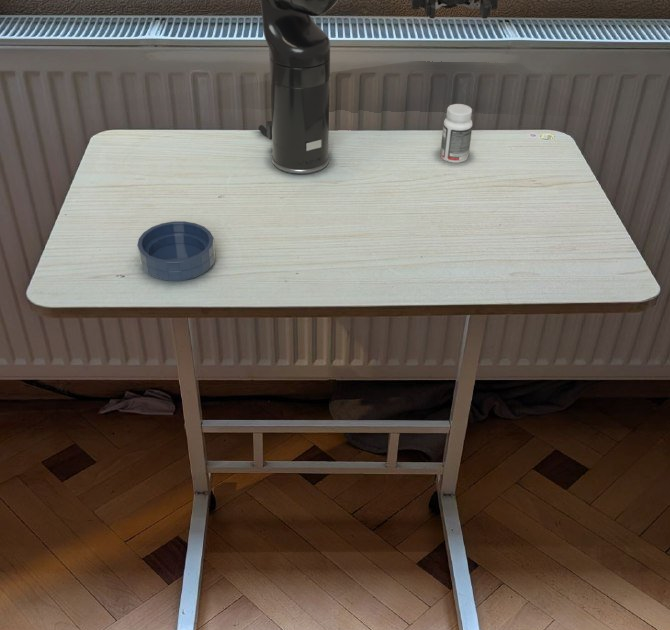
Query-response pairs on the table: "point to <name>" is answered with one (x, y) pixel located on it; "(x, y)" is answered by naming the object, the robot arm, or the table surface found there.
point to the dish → (176, 250)
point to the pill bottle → (456, 133)
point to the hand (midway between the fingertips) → (459, 12)
